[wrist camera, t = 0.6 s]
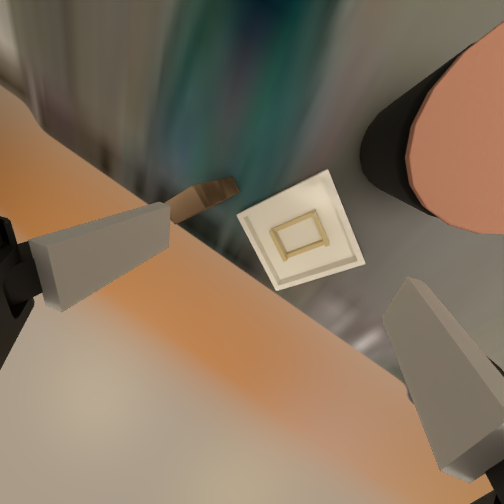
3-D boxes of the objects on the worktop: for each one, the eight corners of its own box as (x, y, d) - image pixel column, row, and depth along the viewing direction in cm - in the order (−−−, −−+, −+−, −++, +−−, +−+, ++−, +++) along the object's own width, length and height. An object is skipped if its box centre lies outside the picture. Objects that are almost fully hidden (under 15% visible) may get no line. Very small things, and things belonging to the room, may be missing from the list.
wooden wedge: (209, 190, 36) (162, 204, 25) (232, 176, 34) (192, 185, 23) (217, 204, 36) (174, 224, 26) (240, 192, 34) (205, 207, 24)
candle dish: (241, 211, 36) (236, 215, 33) (327, 168, 30) (327, 169, 28) (278, 283, 39) (276, 291, 37) (362, 256, 33) (365, 264, 31)
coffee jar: (395, 209, 30) (483, 270, 14) (340, 151, 29) (366, 144, 13) (484, 142, 25) (782, 115, 9) (421, 70, 24) (625, -103, 8)
